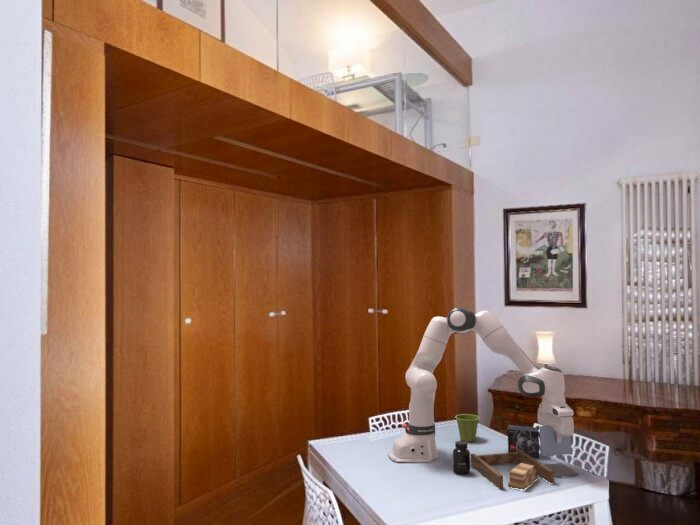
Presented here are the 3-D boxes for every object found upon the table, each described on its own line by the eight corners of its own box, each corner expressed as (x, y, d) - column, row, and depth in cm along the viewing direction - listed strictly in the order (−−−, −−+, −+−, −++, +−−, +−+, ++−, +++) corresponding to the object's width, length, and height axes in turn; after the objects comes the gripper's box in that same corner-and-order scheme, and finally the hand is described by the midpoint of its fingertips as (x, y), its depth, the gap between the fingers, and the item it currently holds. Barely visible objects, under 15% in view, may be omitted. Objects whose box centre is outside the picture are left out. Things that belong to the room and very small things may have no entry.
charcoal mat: (551, 478, 196) (551, 476, 196) (534, 467, 208) (534, 465, 208) (579, 475, 198) (578, 473, 198) (560, 464, 210) (560, 463, 210)
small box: (507, 456, 222) (507, 428, 223) (508, 451, 228) (507, 424, 229) (539, 459, 218) (538, 431, 218) (539, 454, 224) (538, 427, 225)
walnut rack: (499, 489, 186) (499, 476, 186) (471, 465, 211) (470, 453, 211) (554, 484, 190) (554, 470, 190) (519, 461, 215) (519, 449, 215)
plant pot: (483, 443, 240) (482, 419, 240) (458, 444, 240) (457, 420, 240) (477, 436, 252) (476, 413, 252) (453, 436, 252) (453, 414, 252)
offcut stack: (524, 492, 184) (523, 475, 184) (508, 488, 188) (507, 472, 188) (537, 480, 195) (536, 464, 195) (522, 476, 199) (521, 461, 199)
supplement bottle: (460, 476, 199) (459, 446, 200) (449, 471, 205) (448, 441, 206) (473, 473, 202) (473, 443, 203) (462, 468, 208) (461, 439, 209)
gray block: (544, 456, 201) (543, 428, 201) (540, 453, 204) (539, 426, 204) (571, 453, 203) (570, 426, 203) (566, 451, 206) (565, 424, 206)
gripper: (533, 401, 214) (534, 434, 213) (561, 413, 194) (563, 449, 193) (546, 400, 215) (547, 433, 214) (576, 412, 195) (577, 448, 194)
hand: (555, 441), depth 204 cm, fingers closed on gray block, 3 cm apart
